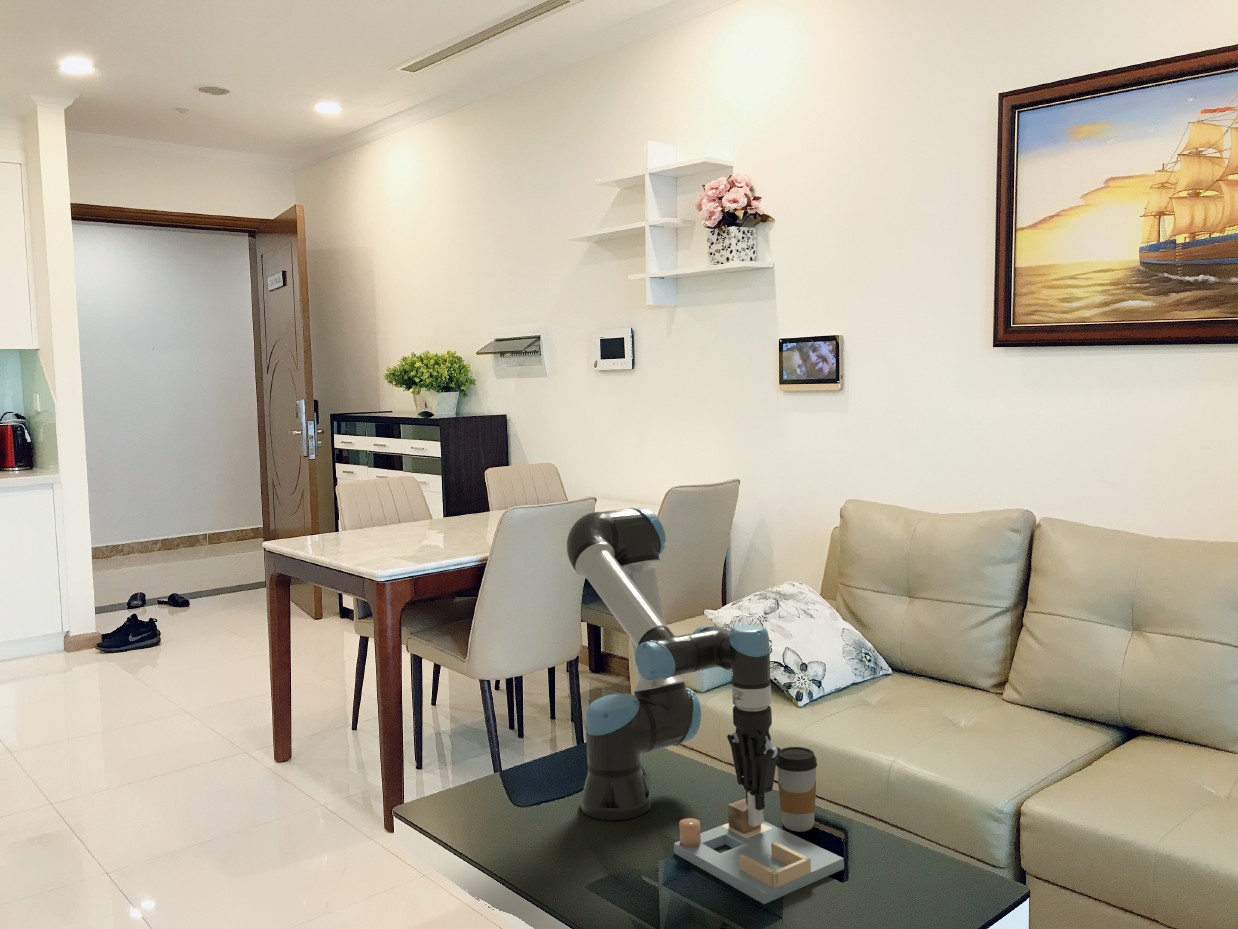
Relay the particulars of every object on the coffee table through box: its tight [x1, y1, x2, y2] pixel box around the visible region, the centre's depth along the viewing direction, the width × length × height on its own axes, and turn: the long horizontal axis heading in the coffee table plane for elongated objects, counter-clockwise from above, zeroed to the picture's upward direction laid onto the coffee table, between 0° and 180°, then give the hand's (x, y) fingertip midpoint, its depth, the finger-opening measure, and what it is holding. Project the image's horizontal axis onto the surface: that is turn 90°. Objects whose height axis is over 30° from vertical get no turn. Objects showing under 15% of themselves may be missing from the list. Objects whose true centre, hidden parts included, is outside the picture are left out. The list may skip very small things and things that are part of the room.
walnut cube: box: [727, 798, 761, 834], centre depth 192 cm, size 4×4×4 cm
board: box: [673, 821, 845, 905], centre depth 182 cm, size 25×20×4 cm
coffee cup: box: [776, 746, 818, 832], centre depth 196 cm, size 8×8×15 cm
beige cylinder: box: [678, 817, 702, 848], centre depth 186 cm, size 4×4×4 cm
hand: (756, 823), depth 190 cm, fingers closed
